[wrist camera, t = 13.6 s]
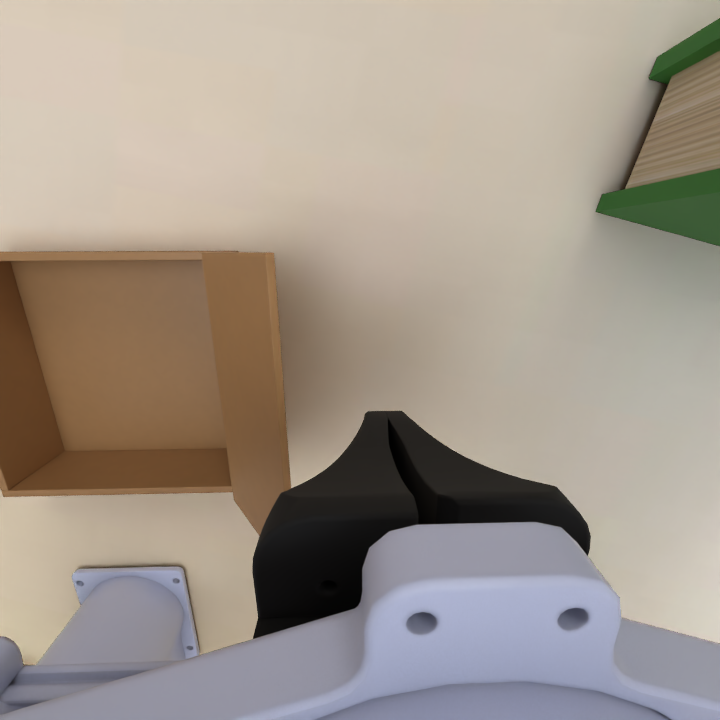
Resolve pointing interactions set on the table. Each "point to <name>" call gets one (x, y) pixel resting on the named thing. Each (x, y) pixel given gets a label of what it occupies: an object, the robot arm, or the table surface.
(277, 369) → the flap
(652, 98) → the table surface
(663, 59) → the hardback book
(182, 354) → the carton
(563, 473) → the table surface
